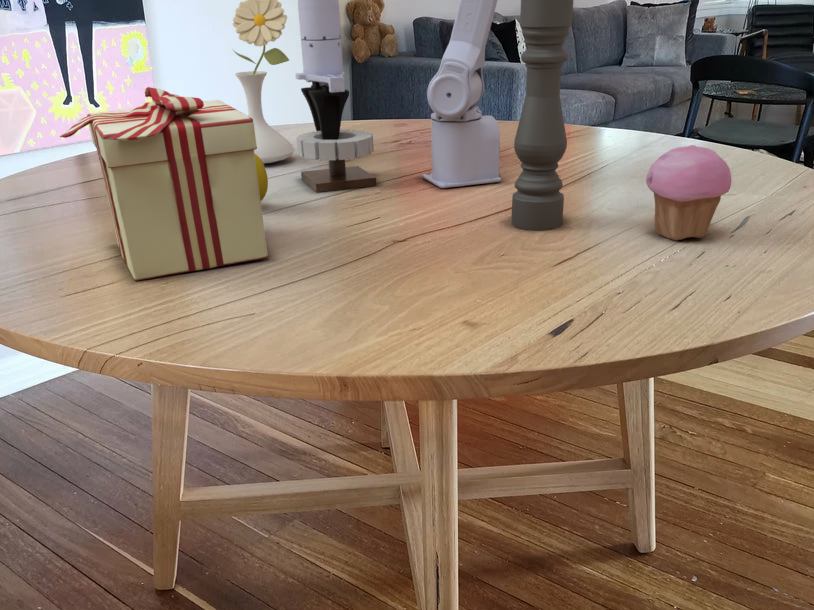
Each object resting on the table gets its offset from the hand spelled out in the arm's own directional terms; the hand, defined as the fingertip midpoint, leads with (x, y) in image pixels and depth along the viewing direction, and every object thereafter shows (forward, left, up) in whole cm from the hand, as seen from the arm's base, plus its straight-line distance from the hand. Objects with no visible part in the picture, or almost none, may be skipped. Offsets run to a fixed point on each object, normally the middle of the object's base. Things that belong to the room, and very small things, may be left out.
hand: (328, 138), depth 123 cm
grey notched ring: (0, +4, -1) cm, 4 cm away
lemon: (+15, +14, -6) cm, 21 cm away
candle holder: (-16, +36, -6) cm, 40 cm away
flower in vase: (+7, -16, -6) cm, 18 cm away
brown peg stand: (0, +4, -6) cm, 7 cm away
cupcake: (-28, +48, -6) cm, 56 cm away
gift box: (+26, +31, -6) cm, 41 cm away
